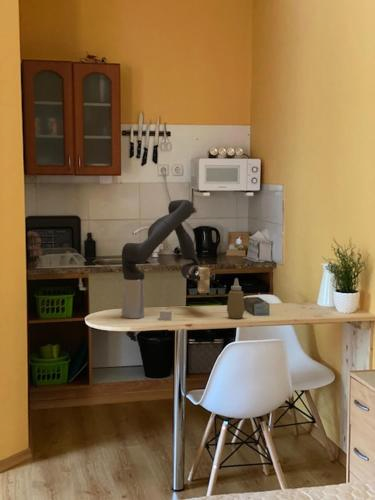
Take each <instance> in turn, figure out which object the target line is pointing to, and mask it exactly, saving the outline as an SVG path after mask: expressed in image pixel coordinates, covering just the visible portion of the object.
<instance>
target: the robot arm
mask: <svg viewBox="0 0 375 500" xmlns="http://www.w3.org/2000/svg"><path fill="white" fill-rule="evenodd" d="M167 208H168V210H167V211H168V214H165V215H164V216H161V217H160V218H158V219H156V220H155V221H154V222H153V223H152V224H151V225H150V226H149V227H148V229H147V238H146V239H145V240H144V241H143V242H140V243H138V242H137V243H136V242H127V243H125V244H124V245H123V246H122V250H121V268H122V269H121V271H122V275H123V295H122V296H121V318H124V319H142V318H144V317H145V315H144V314H145V273H144V271H142V270H140V269H139V268H138V267H137V265H143V264H145V263H146V262H148V260H149V258H150V257H151V256H152V254H154V252H155V251H156V250H157V248H158V247H159V246H160V245H161V244H162V242H164V241H165V240H166V239H167V238H168V237H169V236H170V235H171V234H172V233H173V232H175V235H176V237H177V240H178V244H179V249H180V255H181V258H182V260H185V261H192V262H189V263H186V264H183V265H182V266H181V268H180V272H181V275H182V277H183V278H184V279H187V280H191V281H194V283H196V284H198V281H200V276H199V275H198V267H202V265H201V263H200V261H199V259H198V257H197V254H196V248H195V244H194V241H193V239H192V237H191V235H190V234H189V233H188V231H187V230H186V229H185V227H184V226H183V222H185V221H186V220H187V219H189V218H190V217H191V216H192V214H193V212H194V205H193V203H192V202H191V201H190V200H189V199H176V200H171V201H170V202H169V204H168V207H167ZM215 279H216V273H215V272H213V273H211V274H210V277H209V282H211V281H215Z"/></svg>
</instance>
